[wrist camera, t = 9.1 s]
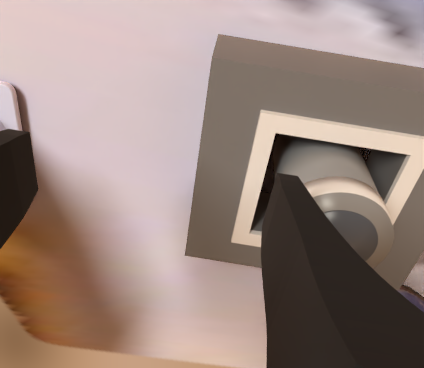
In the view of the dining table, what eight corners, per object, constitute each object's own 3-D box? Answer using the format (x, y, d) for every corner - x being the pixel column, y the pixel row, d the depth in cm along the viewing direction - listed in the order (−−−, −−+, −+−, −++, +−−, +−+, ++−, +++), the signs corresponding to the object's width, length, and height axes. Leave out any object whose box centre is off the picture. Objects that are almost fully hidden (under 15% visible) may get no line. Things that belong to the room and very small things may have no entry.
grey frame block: (192, 214, 24) (184, 259, 21) (218, 34, 18) (211, 60, 15) (381, 245, 24) (400, 294, 21) (473, 76, 18) (519, 110, 15)
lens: (266, 182, 23) (269, 275, 17) (279, 110, 20) (288, 190, 14) (344, 191, 22) (375, 288, 17) (368, 119, 20) (414, 204, 14)
